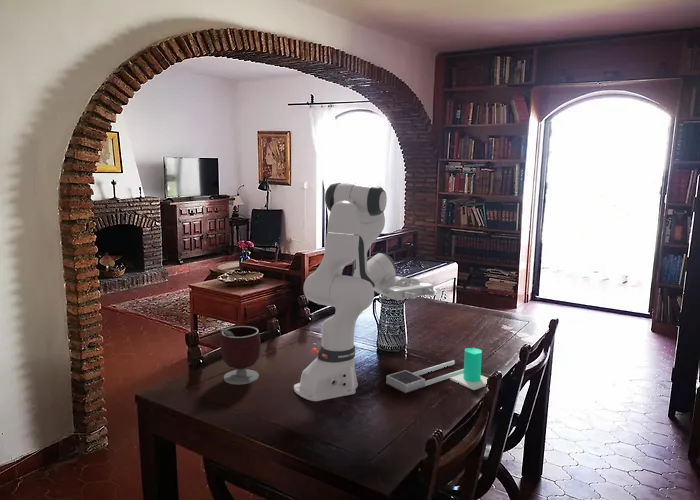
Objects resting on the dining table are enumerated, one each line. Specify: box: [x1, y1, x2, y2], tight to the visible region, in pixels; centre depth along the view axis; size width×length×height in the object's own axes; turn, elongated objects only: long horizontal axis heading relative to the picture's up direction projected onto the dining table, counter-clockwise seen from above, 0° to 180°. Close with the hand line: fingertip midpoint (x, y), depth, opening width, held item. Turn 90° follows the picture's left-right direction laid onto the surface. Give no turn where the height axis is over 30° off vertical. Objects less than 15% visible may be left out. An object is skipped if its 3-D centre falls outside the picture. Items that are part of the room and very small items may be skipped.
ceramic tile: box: [449, 373, 489, 391], centre depth 194 cm, size 11×11×1 cm
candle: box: [463, 346, 483, 382], centre depth 193 cm, size 6×6×12 cm
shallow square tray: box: [385, 369, 426, 394], centre depth 189 cm, size 9×10×3 cm
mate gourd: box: [219, 325, 262, 386], centre depth 192 cm, size 16×14×20 cm
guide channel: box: [412, 359, 464, 387], centre depth 199 cm, size 24×9×2 cm, turn 127°
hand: (424, 295), depth 205 cm, fingers open, 8 cm apart
